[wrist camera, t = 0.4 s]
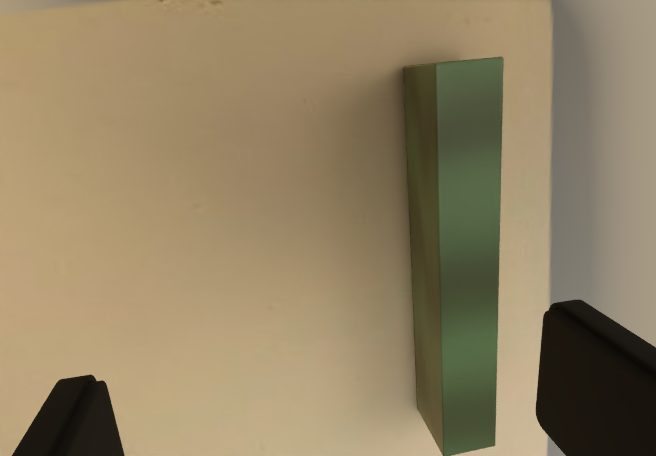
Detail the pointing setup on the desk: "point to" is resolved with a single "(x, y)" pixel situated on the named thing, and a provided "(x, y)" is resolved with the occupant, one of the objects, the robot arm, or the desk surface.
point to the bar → (455, 244)
